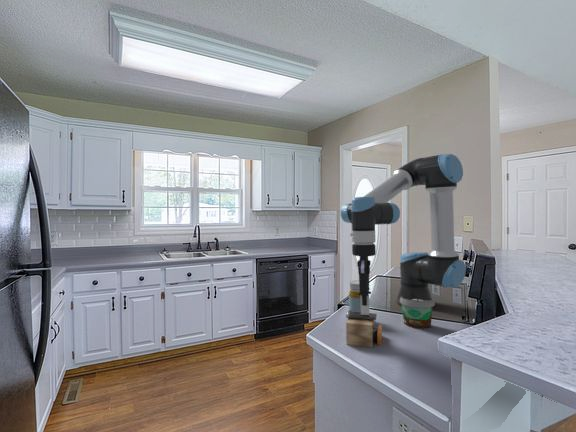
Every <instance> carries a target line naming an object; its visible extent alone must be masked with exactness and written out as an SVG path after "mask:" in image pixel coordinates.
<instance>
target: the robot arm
mask: <svg viewBox="0 0 576 432" xmlns="http://www.w3.org/2000/svg"><path fill="white" fill-rule="evenodd" d="M463 176H464V168H463V164H462V162H461V161H460V159H459V157H458V156H457V155H455V154H452V153H445V154H443V153H442V154H437V155H432V156H425V157H419V158H416V159H413V160H411V161H409V162H406V164H403V165H402V166H400V168H398V169H396V170H395V171H393V173H392V175H391V177H389V178H388V179H386V180H384V181H383V182H382V183H380V184H379V185H377V186H376V187H375V188H373V189H372V190H371V191H369V192H368V193H366V194H365V195H363V196H356V197H353V198H352V200H351V203H346V204H344V205H343V206H342V207H341V209H340V217H341V220H342V221H343V222H344V223H348V224H351V233H350V235H349V236H350V237H352V241H351V242H352V243H353V244H352V245H351V247H352V248H351V249H352V252H351V253H352V255H353V256H355V257H359V259H358V261H357V269H358V281H359V287H360V292H359V293H358V295H360V303H361V315H369V313H370V295H372V291H370V289H371V288H370V273H371V259H370V260H369V257H374V256H376V254H377V253H376V244H375V243H376V225H377V226H378V225H387V226H388V225H391V224H395V223H398V220H399V219H400V218H401V210H400V208H399V206H398V205H397V204H396V203H393V202H390V201H391V200H392V199H394V198H395V197H397V196H398V195H399V194H400V193H402V192H403V191H407V190H409V189H411V188H412V187H416V186H417V187H418V186H424V187H425V188H424V189H425V190H426V191H427V192H429V212H430V213H429V214H430V217H429V218H430V240H431V241H430V243H431V244H430V245H431V247H430V248H431V250H430V251H429V252H427V251H420V252H419V251H417V252H416V251H415V252H407V253H402V254H401V255H400V261H399V266H400V267H399V268H400V287H399V290H398V294H397V296H396V303H397V304H398V305H400V306H402V304H401V303H400V298H401V297H402V298H404V299H421V300H428V301H431V300H433V298H432V294H431V291H430V288H429V285H434V286H439V287H443V288H451V289H455V288H456V289H457V288H458V287H459V286H461V285H462V284H463V281H464V280H465V276H466V273H467V272H466V271H467V269H466V268H467V266H466V263H465V262H464V261H463V260H461V259H460V254H459V252H457V251H456V249H455V225H454V224H455V222H454V216H455V215H454V196H453V195H454V193H453V192H454V191H455V190H456V189H457V186H458V185H457V184H458V183H460V182H461V181H462V179H463Z"/></svg>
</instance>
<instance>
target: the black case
mask: <svg viewBox="0 0 576 432" xmlns="http://www.w3.org/2000/svg"><path fill="white" fill-rule="evenodd" d="M375 341H376V342H377V346H382V345H383V344H382V341H383V325H382V324H378V326H377V327H375V328H373V342H375Z"/></svg>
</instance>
